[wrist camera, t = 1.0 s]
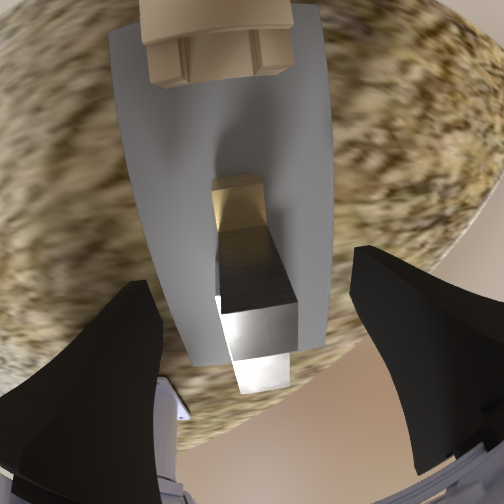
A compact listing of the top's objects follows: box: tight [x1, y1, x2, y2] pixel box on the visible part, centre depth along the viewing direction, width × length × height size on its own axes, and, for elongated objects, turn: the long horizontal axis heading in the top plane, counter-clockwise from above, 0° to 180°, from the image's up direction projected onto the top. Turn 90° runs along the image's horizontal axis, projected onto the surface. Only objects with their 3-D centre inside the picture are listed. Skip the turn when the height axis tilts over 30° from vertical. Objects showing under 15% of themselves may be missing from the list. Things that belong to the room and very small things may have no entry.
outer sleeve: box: [215, 259, 290, 394], centre depth 15 cm, size 3×8×3 cm, turn 6°
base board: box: [108, 3, 334, 367], centre depth 14 cm, size 10×22×1 cm, turn 6°
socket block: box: [139, 0, 294, 89], centre depth 8 cm, size 5×4×4 cm
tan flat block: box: [211, 172, 298, 362], centre depth 12 cm, size 2×12×7 cm, turn 6°
